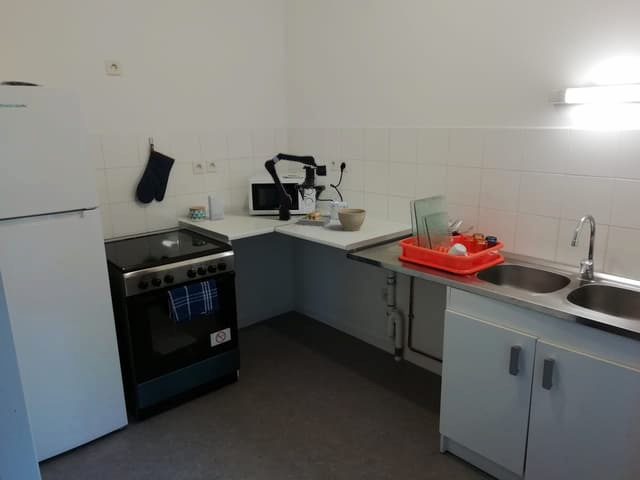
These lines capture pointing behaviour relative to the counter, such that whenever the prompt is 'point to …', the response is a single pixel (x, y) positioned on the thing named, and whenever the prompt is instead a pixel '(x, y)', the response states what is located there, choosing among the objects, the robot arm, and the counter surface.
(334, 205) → the light bulb box
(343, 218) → the planter bowl
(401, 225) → the counter surface
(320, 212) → the pallet
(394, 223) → the counter surface
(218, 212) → the skincare box
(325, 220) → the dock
